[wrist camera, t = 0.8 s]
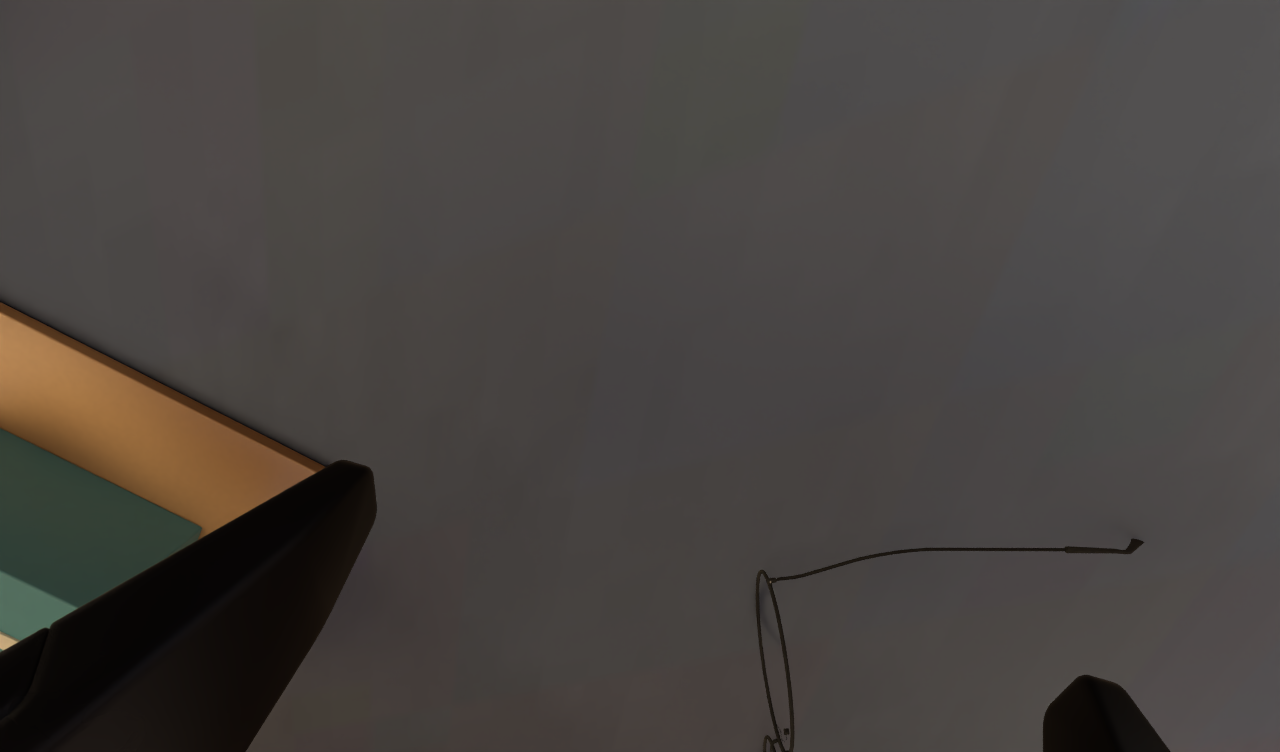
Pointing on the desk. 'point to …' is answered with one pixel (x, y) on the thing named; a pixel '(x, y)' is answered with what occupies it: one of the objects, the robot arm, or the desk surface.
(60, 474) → the green parcel
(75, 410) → the wooden cutting board
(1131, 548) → the eyeglasses
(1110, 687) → the robot arm
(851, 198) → the desk surface
